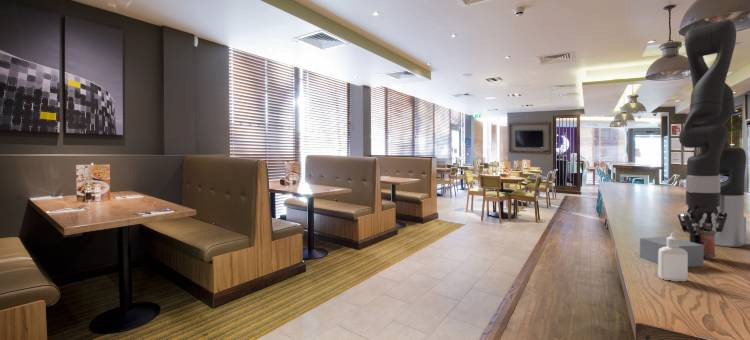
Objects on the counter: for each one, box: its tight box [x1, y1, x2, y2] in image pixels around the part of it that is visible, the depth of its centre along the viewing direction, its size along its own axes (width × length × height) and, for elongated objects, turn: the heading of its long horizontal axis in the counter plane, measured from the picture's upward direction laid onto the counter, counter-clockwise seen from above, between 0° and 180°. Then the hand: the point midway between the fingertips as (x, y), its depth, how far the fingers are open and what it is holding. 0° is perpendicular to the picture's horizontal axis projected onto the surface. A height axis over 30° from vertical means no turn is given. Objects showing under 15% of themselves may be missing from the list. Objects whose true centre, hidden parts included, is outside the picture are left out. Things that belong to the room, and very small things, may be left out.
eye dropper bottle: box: [657, 232, 689, 282], centre depth 86 cm, size 4×6×12 cm
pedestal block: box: [639, 236, 704, 268], centre depth 100 cm, size 10×10×6 cm
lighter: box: [694, 222, 716, 258], centre depth 103 cm, size 8×3×10 cm, turn 169°
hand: (702, 245), depth 103 cm, fingers closed on lighter, 4 cm apart
